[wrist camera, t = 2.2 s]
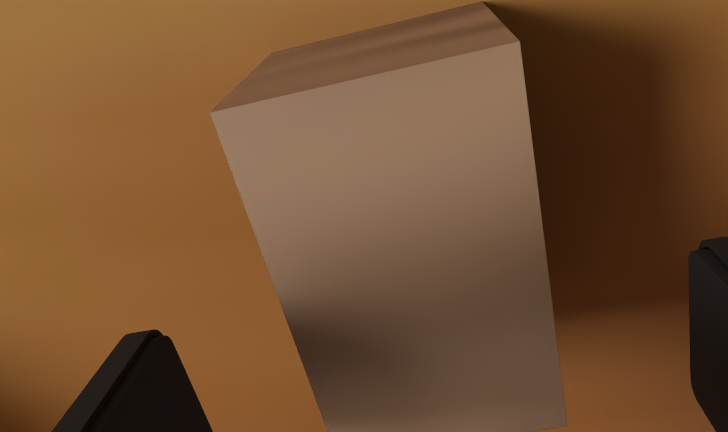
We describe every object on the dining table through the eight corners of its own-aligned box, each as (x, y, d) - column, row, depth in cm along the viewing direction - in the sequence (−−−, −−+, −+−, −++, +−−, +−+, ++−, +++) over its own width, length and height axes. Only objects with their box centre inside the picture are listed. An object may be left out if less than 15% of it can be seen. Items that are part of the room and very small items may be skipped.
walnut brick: (272, 52, 14) (209, 112, 9) (481, 0, 13) (519, 40, 9) (354, 317, 17) (336, 454, 13) (524, 290, 16) (567, 426, 12)
